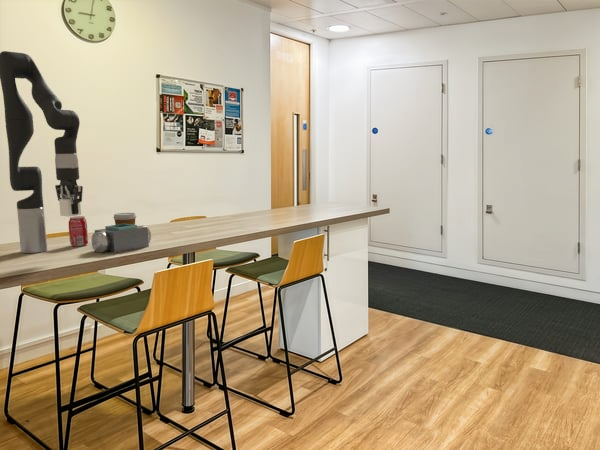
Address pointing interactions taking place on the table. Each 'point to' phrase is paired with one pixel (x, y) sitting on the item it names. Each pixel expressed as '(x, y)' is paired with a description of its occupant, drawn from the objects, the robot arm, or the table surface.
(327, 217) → the table surface
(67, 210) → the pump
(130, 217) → the disposable coffee cup
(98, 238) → the motor
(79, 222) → the soda can
